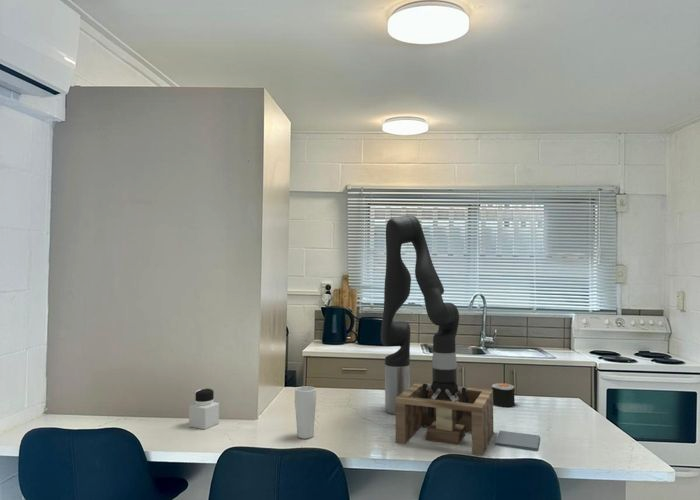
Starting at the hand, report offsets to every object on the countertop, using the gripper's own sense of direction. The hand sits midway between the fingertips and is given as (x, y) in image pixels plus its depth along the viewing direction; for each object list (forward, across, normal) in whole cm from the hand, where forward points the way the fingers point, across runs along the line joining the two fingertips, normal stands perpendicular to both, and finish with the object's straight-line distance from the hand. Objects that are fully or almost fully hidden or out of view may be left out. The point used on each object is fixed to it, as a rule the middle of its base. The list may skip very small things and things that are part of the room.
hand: (444, 418), depth 156 cm
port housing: (+6, 0, -1) cm, 6 cm away
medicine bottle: (+6, +78, +22) cm, 81 cm away
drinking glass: (+6, +41, +17) cm, 44 cm away
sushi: (+6, -12, -47) cm, 48 cm away
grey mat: (+6, -21, -6) cm, 23 cm away
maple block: (+3, 0, 0) cm, 3 cm away
